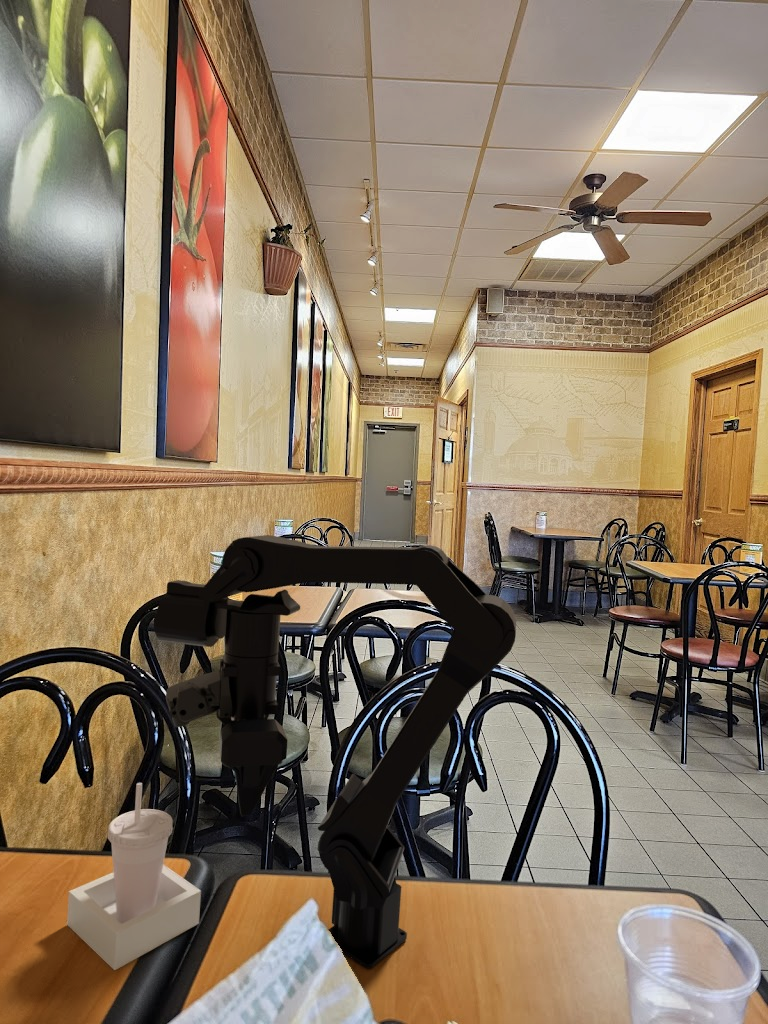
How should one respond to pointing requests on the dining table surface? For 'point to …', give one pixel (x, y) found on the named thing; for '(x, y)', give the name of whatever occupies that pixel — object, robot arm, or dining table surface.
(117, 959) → the box
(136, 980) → the dining table surface
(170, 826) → the smoothie
